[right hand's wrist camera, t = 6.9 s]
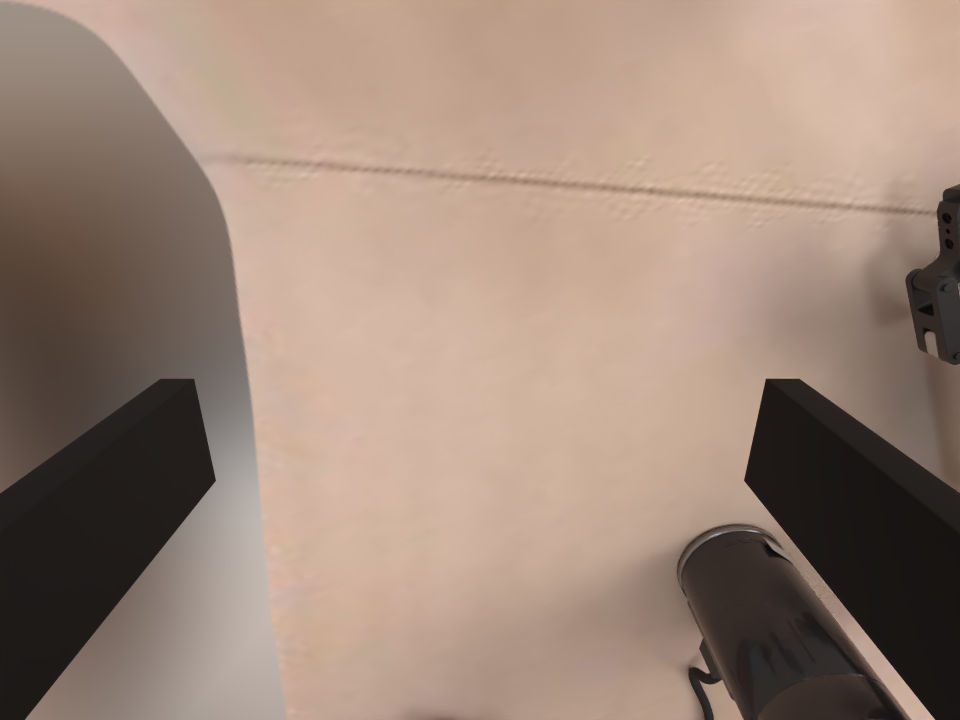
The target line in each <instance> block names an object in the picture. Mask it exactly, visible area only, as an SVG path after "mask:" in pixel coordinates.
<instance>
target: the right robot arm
mask: <svg viewBox="0 0 960 720" xmlns="http://www.w3.org/2000/svg"><path fill="white" fill-rule="evenodd" d="M215 481H216V479H215V475H214V470H213V465H212V460H211V456H210V451H209V446H208V442H207V437H206V433H205V428H204V423H203V418H202V414H201V409H200V404H199V400H198V395H197V390H196V386H195V381H194V379H160V380H158V381H157V382H156V383H154V384H153V385H151V386H150V387H149V388H147V389H146V390H144V391H143V392H142V393H140V394H139V395H137V396H136V397H135V398H133V399H132V400H130V401H129V402H128V403H126V404H125V405H123V406H122V407H121V408H119V409H118V410H116V411H115V412H114V413H112V414H111V415H110V416H108V417H107V418H105V419H104V420H102V421H101V422H100V423H98V424H97V425H95V426H94V427H93V428H91V429H90V430H88V431H87V432H86V433H84V434H83V435H81V436H80V437H79V438H77V439H76V440H75V441H73V442H72V443H70V444H69V445H67V446H66V447H65V448H63V449H62V450H61V451H59V452H58V453H56V454H55V455H54V456H52V457H51V458H49V459H48V460H47V461H45V462H44V463H42V464H41V465H40V466H38V467H37V468H35V469H34V470H33V471H31V472H30V473H28V474H27V475H26V476H24V477H23V478H21V479H20V480H19V481H17V482H16V483H14V484H13V485H12V486H10V487H9V488H8V489H6V490H5V491H3V492H2V493H0V720H25V719H26V717H27V716H28V715H29V714H30V712H31V711H32V710H33V709H34V707H35V706H36V705H37V704H38V702H39V701H40V700H41V699H42V697H43V696H44V695H45V694H46V692H47V691H48V690H49V689H50V687H51V686H52V685H53V684H54V682H55V681H56V680H57V679H58V677H59V676H60V675H61V674H62V672H63V671H64V670H65V669H66V667H67V666H68V665H69V664H70V662H71V661H72V660H73V659H74V657H75V656H76V655H77V654H78V652H79V651H80V650H81V649H82V647H83V646H84V645H85V644H86V642H87V641H88V640H89V639H90V637H91V636H92V635H93V634H94V632H95V631H96V630H97V629H98V627H99V626H100V625H101V624H102V622H103V621H104V620H105V619H106V617H107V616H108V615H109V614H110V612H111V611H112V610H113V609H114V607H115V606H116V605H117V604H118V602H119V601H120V600H121V599H122V597H123V596H124V595H125V594H126V592H127V591H128V590H129V589H130V587H131V586H132V585H133V584H134V582H135V581H136V580H137V579H138V577H139V576H140V575H141V574H142V572H143V571H144V570H145V569H146V567H147V566H148V565H149V564H150V562H151V561H152V560H153V559H154V557H155V556H156V555H157V554H158V552H159V551H160V550H161V549H162V547H163V546H164V545H165V544H166V542H167V541H168V540H169V539H170V537H171V536H172V535H173V534H174V532H175V531H176V530H177V529H178V527H179V526H180V525H181V524H182V522H183V521H184V520H185V519H186V517H187V516H188V515H189V514H190V512H191V511H192V510H193V509H194V507H195V506H196V505H197V504H198V502H199V501H200V500H201V499H202V497H203V496H204V495H205V494H206V492H207V491H208V490H209V489H210V487H211V486H212V485H213V484H214V482H215ZM744 481H745V482H746V484H747V485H748V486H749V487H750V489H751V490H752V491H753V492H754V494H755V495H756V496H757V497H758V499H759V500H760V501H761V502H762V504H763V505H764V506H765V507H766V509H767V510H768V511H769V512H770V514H771V515H772V516H773V517H774V519H775V520H776V521H777V522H778V524H779V525H780V526H781V527H782V529H783V530H784V531H785V532H786V534H787V535H788V536H789V537H790V539H791V540H792V541H793V542H794V544H795V545H796V546H797V547H798V549H799V550H800V551H801V552H802V554H803V555H804V556H805V557H806V559H807V560H808V561H809V562H810V564H811V565H812V566H813V567H814V569H815V570H816V571H817V572H818V574H819V575H820V576H821V577H822V579H823V580H824V581H825V582H826V584H827V585H828V586H829V587H830V589H831V590H832V591H833V592H834V594H835V595H836V596H837V597H838V599H839V600H840V601H841V602H842V604H843V605H844V606H845V607H846V609H847V610H848V611H849V612H850V614H851V615H852V616H853V617H854V619H855V620H856V621H857V622H858V624H859V625H860V626H861V627H862V629H863V630H864V631H865V632H866V634H867V635H868V636H869V637H870V639H871V640H872V641H873V642H874V644H875V645H876V646H877V647H878V649H879V650H880V651H881V652H882V654H883V655H884V656H885V657H886V659H887V660H888V661H889V662H890V664H891V665H892V666H893V667H894V669H895V670H896V671H897V672H898V674H899V675H900V676H901V677H902V679H903V680H904V681H905V682H906V684H907V685H908V686H909V687H910V689H911V690H912V691H913V692H914V694H915V695H916V696H917V697H918V699H919V700H920V701H921V702H922V704H923V705H924V706H925V707H926V709H927V710H928V711H929V712H930V714H931V715H932V716H933V717H934V719H935V720H960V493H959V492H957V491H955V490H954V489H953V488H951V487H950V486H948V485H947V484H946V483H944V482H943V481H941V480H940V479H939V478H937V477H936V476H934V475H933V474H932V473H930V472H929V471H927V470H926V469H925V468H923V467H922V466H920V465H919V464H918V463H916V462H915V461H913V460H912V459H911V458H909V457H908V456H906V455H905V454H904V453H902V452H901V451H899V450H898V449H897V448H895V447H894V446H893V445H891V444H890V443H888V442H887V441H886V440H884V439H883V438H881V437H880V436H879V435H877V434H876V433H874V432H873V431H872V430H870V429H869V428H867V427H866V426H865V425H863V424H862V423H860V422H859V421H858V420H856V419H855V418H853V417H852V416H851V415H849V414H848V413H846V412H845V411H844V410H842V409H841V408H839V407H838V406H837V405H835V404H834V403H832V402H831V401H830V400H828V399H827V398H825V397H824V396H823V395H821V394H820V393H818V392H817V391H816V390H814V389H813V388H811V387H810V386H809V385H807V384H806V383H804V382H803V381H802V380H800V379H766V381H765V386H764V390H763V395H762V400H761V404H760V409H759V414H758V418H757V423H756V428H755V432H754V437H753V442H752V446H751V451H750V456H749V460H748V465H747V470H746V474H745V479H744Z"/></svg>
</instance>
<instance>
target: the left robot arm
mask: <svg viewBox="0 0 960 720" xmlns="http://www.w3.org/2000/svg"><path fill="white" fill-rule="evenodd" d="M937 219H938V227H939V228H938V229H939V240H940V252H939V253H938V254H937V255H936V257H935V260H934V262H933V263H931V264H930V265H928V266H927V267H926V268H924V269H923V270H922V269H915V270H913V271H911V272H910V273H909V274H908V275H907V277H906V287H907V292H908V297H909V302H910V307H911V312H912V317H913V322H914V327H915V333H916V338H917V343H918V347H919V349H920V350H922V351H924V352H926V353H928V354H930V355H932V356H934V357H936V358H938V359H941V360H943V361H946V362H948V363H950V364H953V365H957V364H960V297H959V291H958V285H959V286H960V184H959V185H956V186H953V187H951V188H948V189H946V190H945V191H944V192H943V201H941V202H939V206H938V209H937ZM792 562H793V563H794V564H796V563H795V562H794V561H793V559H792V558H791V557H790V556H789V554H788V553H787V552H785V551H784V550H783V548H782V546H781V545H780V544H779V542H778V541H777V540H776V539H775V538H774V537H773V536H772V535H771V534H769V533H768V532H766V531H764V530H762V529H760V528H757V527H753V526H748V525H730V526H725V527H721V528H718V529H715V530H712V531H710V532H708V533H706V534H704V535H702V536H701V537H699V538H698V539H696V540H695V541H694V542H693V543H692V544H691V545H690V546H689V547H688V548H687V549H686V551H685V552H684V554H683V555H682V557H681V560H680V562H679V566H678V580H679V584H680V586H681V588H682V590H683V592H684V594H685V596H686V597H687V598H688V606H689V608H690V610H691V612H692V615H693V617H694V619H695V621H696V623H697V625H698V628H699V630H700V632H701V634H702V636H703V640H702V642H701V645H700V648H699V649H700V651H701V653H702V656H703V658H704V660H705V662H706V665H707V667H708V669H709V671H710V673H709V674H706V673H705V672H703V671H702V670H700V669H698V668H695V667H693V668H691V669H690V671H689V679H690V682H691V684H692V687H693V689H694V691H695V693H696V695H697V697H698V699H699V701H700V703H701V705H702V708H703V711H704V716H705V720H714V717H713V712H712V709H711V706H710V703H709V701H708V699H707V696H706V694H705V692H704V690H703V688H702V686H701V684H700V682H699V680H700V681H701V682H703V683H705V684H715V683H717V682H719V681H720V680H723V682H724V684H725V686H726V689H727V691H728V693H729V695H730V697H731V698H732V699H733V700H734V701H735V702H736V704H737V706H738V708H739V711H740V713H741V715H742V717H743V719H744V720H911V718H910V717H909V716H908V714H907V713H906V712H905V710H904V709H903V708H902V706H901V705H900V704H899V703H898V701H897V700H896V699H895V697H894V696H893V695H892V693H891V692H890V691H889V690H888V688H887V687H886V686H885V684H884V683H883V682H882V680H881V679H880V678H879V676H878V675H877V674H876V672H875V671H874V670H873V669H872V667H871V666H870V665H869V663H868V662H867V661H866V659H865V658H864V657H863V655H862V654H861V653H860V651H859V650H858V649H857V647H856V646H855V645H854V643H853V642H852V641H851V639H850V638H849V637H848V636H847V634H846V633H845V632H844V630H843V629H842V628H841V626H840V625H839V624H838V622H837V621H836V620H835V618H834V617H833V616H832V614H831V613H830V612H829V610H828V609H827V608H826V606H825V605H824V604H823V603H822V601H821V600H820V599H819V597H818V596H817V595H816V593H815V592H814V591H813V589H812V588H811V587H810V585H809V584H808V583H807V581H806V580H805V579H804V577H803V576H802V575H801V573H800V572H799V571H798V569H797V568H796V567H795V565H794V564H793V563H792ZM796 565H797V564H796Z"/></svg>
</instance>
